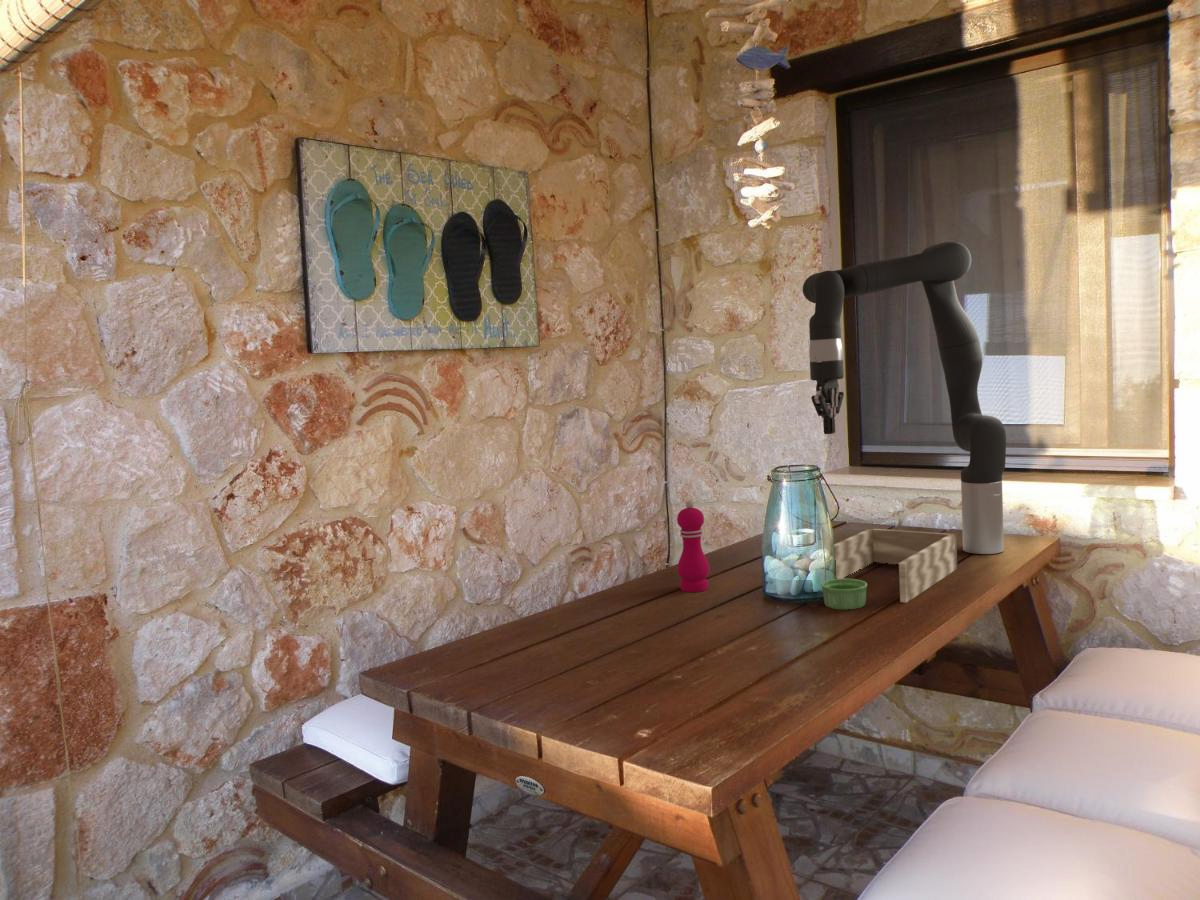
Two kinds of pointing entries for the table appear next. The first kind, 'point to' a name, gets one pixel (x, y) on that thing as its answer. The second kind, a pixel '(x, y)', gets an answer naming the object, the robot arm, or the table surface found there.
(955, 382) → the robot arm
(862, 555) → the wooden c-shaped frame
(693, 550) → the pepper mill
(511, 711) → the table surface
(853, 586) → the ramekin
